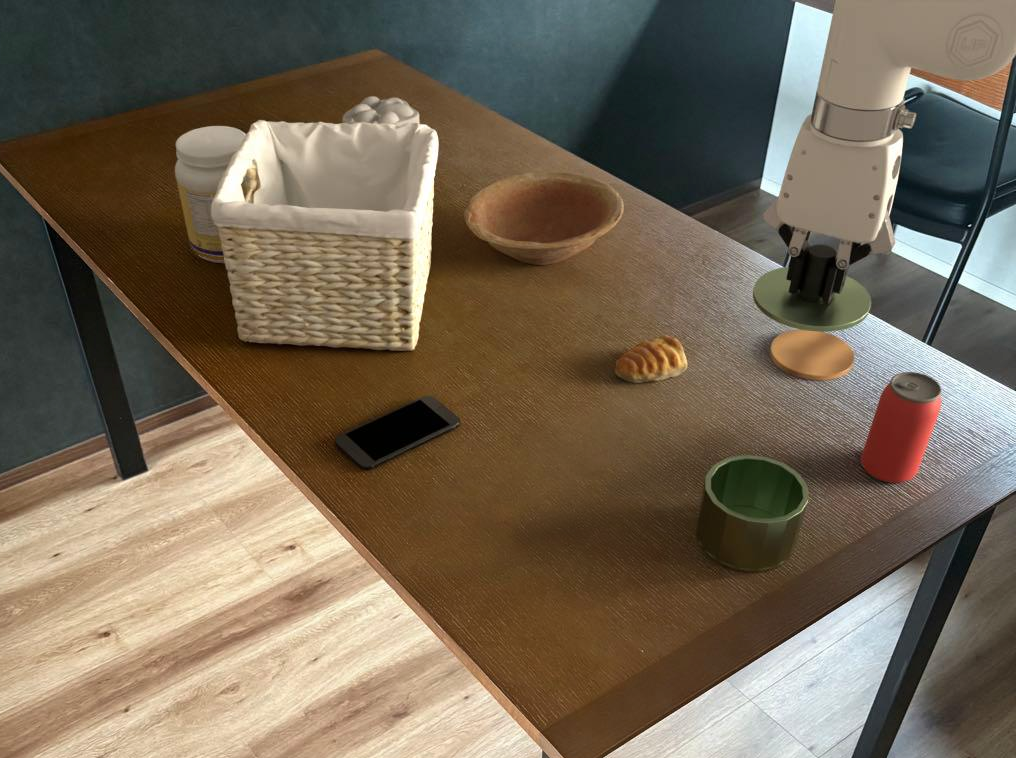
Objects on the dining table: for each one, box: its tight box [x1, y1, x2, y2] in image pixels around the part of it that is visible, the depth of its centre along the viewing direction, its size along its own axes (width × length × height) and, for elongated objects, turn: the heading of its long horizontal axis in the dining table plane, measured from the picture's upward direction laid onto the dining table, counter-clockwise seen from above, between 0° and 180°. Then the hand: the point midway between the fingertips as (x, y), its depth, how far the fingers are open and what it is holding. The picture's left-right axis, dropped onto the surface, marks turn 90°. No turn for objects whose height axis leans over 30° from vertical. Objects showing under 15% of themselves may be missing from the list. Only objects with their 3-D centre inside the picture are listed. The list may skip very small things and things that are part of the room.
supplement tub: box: [174, 125, 249, 264], centre depth 162 cm, size 12×12×17 cm
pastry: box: [614, 334, 688, 384], centre depth 142 cm, size 9×7×4 cm
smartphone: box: [333, 395, 461, 471], centre depth 134 cm, size 7×15×1 cm, turn 128°
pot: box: [695, 454, 810, 573], centre depth 118 cm, size 11×11×8 cm
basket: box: [211, 119, 439, 352], centre depth 148 cm, size 27×27×22 cm
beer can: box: [860, 371, 943, 484], centre depth 125 cm, size 7×7×12 cm
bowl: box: [463, 171, 625, 266], centre depth 164 cm, size 24×24×8 cm
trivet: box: [769, 329, 855, 381], centre depth 145 cm, size 11×11×1 cm
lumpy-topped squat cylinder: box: [341, 95, 421, 127], centre depth 188 cm, size 10×13×9 cm
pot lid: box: [752, 243, 872, 333], centre depth 110 cm, size 12×12×6 cm
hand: (812, 290), depth 111 cm, fingers closed on pot lid, 2 cm apart
